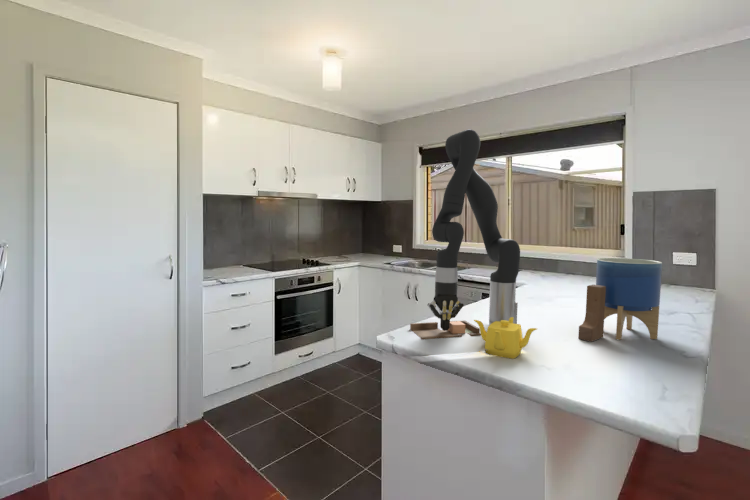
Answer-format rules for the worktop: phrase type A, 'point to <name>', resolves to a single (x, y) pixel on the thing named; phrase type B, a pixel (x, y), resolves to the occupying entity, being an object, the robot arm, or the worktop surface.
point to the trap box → (433, 332)
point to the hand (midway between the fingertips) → (444, 329)
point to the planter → (631, 291)
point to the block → (457, 327)
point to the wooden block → (593, 314)
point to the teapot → (504, 338)
